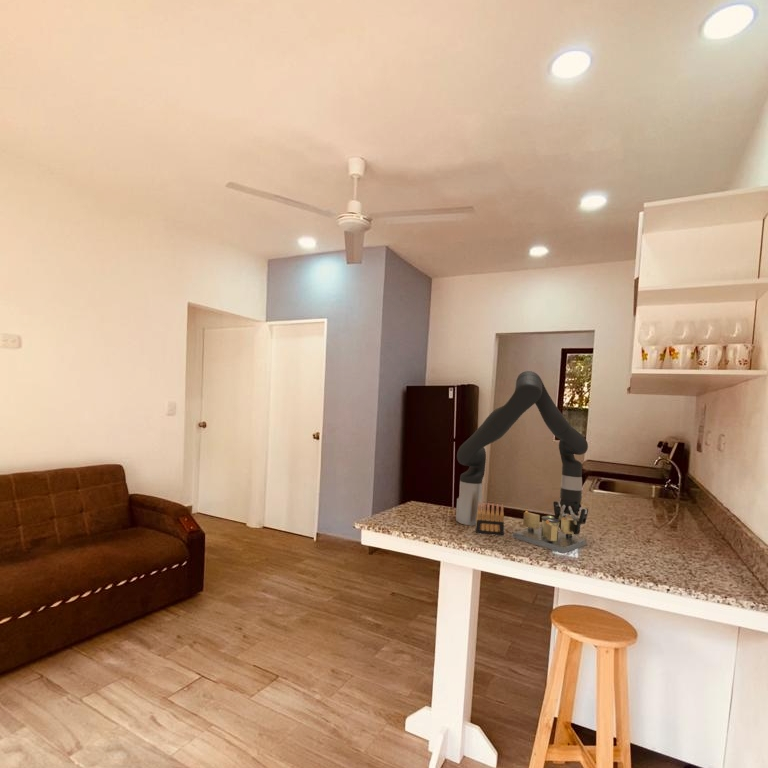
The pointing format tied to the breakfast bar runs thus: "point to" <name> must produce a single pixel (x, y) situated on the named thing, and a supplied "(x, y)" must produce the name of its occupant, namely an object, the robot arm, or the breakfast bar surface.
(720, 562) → the breakfast bar surface
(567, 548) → the plate
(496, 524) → the ammunition clip
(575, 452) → the robot arm
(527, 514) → the block with orange knob
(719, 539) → the breakfast bar surface
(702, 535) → the breakfast bar surface
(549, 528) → the knob front
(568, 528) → the cream rectangular block
